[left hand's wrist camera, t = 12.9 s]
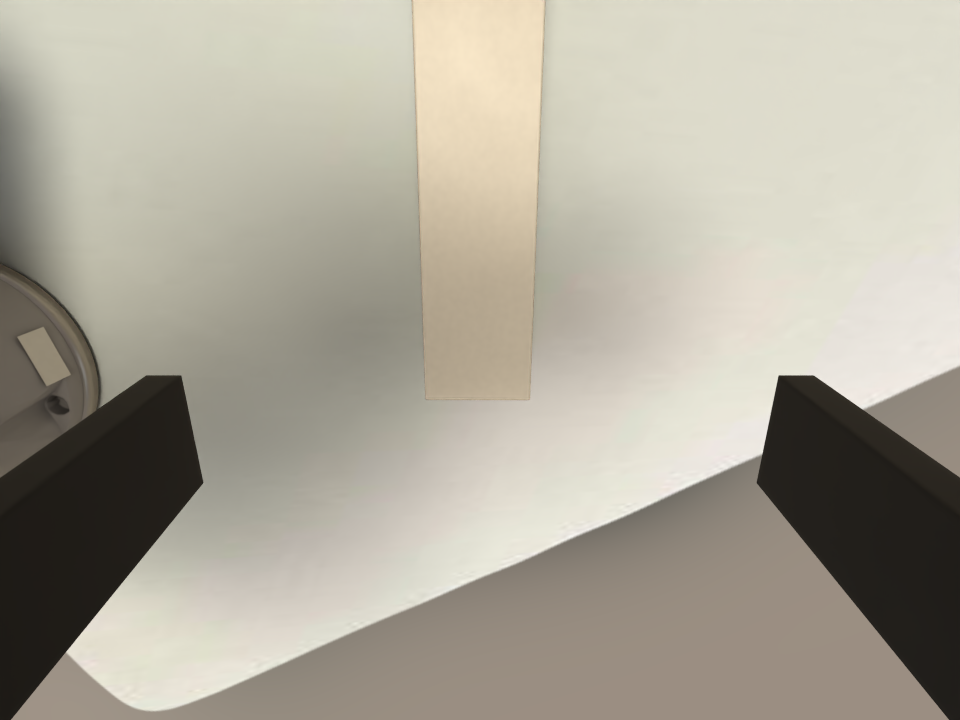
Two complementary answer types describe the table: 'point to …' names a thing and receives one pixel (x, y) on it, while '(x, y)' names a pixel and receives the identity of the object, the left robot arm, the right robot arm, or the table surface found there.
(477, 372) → the bar
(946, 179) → the table surface
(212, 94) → the table surface
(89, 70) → the table surface
